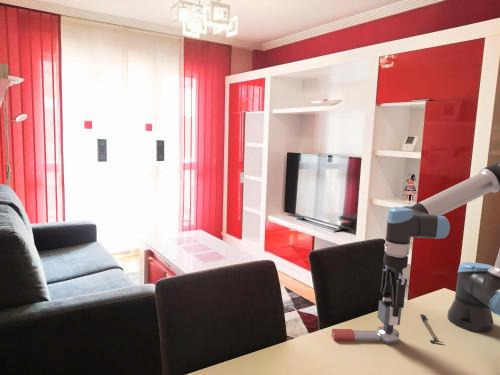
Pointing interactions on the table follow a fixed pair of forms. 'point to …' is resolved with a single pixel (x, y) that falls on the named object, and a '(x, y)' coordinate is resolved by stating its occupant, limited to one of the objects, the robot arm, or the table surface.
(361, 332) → the ratchet
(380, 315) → the socket
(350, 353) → the table surface
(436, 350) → the table surface
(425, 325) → the tomahawk
